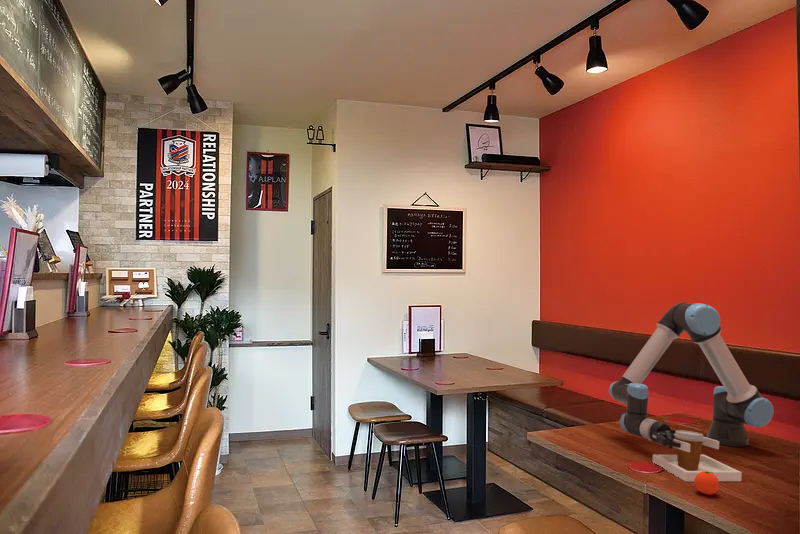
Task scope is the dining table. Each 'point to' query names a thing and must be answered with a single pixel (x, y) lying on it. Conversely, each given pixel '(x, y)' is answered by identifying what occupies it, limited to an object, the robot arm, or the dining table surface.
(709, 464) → the cream tray
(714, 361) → the robot arm
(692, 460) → the disposable coffee cup
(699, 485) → the clementine
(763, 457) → the dining table surface
